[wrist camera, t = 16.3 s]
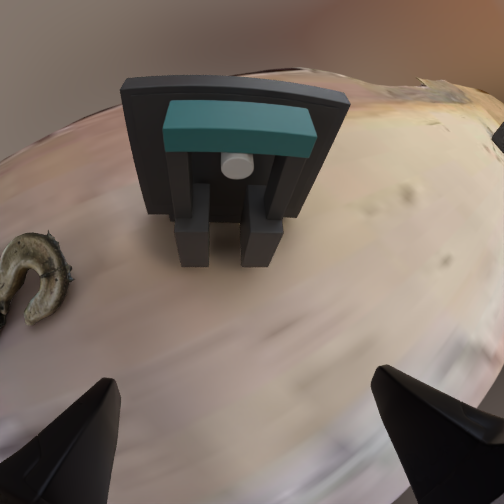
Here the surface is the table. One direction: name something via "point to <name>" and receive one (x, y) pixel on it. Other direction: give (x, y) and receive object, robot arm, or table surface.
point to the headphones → (234, 141)
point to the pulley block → (45, 264)
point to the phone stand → (499, 137)
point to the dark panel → (222, 163)
